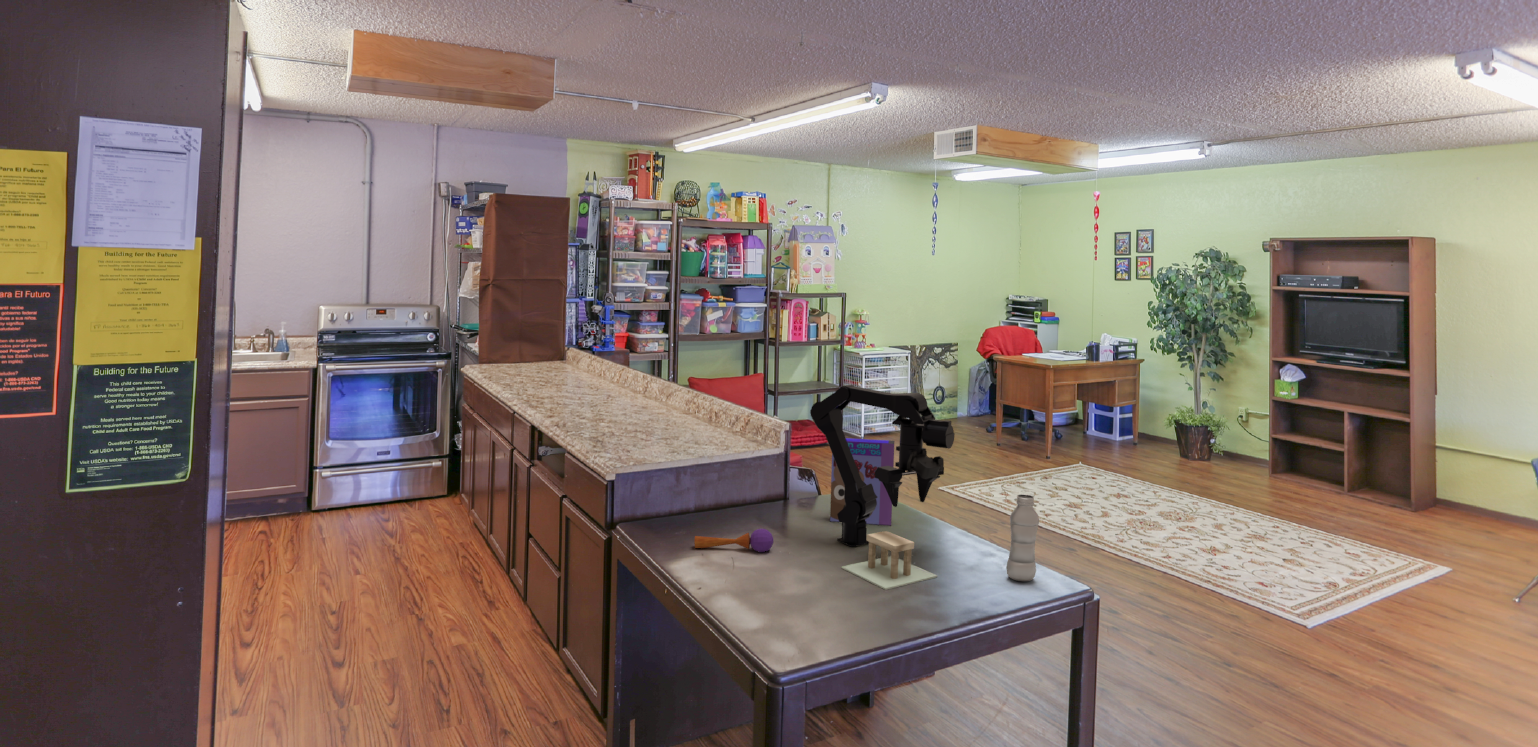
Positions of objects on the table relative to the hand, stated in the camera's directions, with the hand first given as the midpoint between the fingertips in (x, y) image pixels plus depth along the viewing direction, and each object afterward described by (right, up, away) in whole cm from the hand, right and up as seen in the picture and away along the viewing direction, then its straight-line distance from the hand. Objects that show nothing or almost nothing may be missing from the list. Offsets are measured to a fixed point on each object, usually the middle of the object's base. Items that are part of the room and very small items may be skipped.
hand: (908, 504), depth 203 cm
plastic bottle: (+24, -15, -15) cm, 32 cm away
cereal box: (-9, -10, +29) cm, 32 cm away
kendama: (-44, -12, +2) cm, 46 cm away
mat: (-7, -14, -12) cm, 20 cm away
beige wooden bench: (-7, -14, -12) cm, 20 cm away
